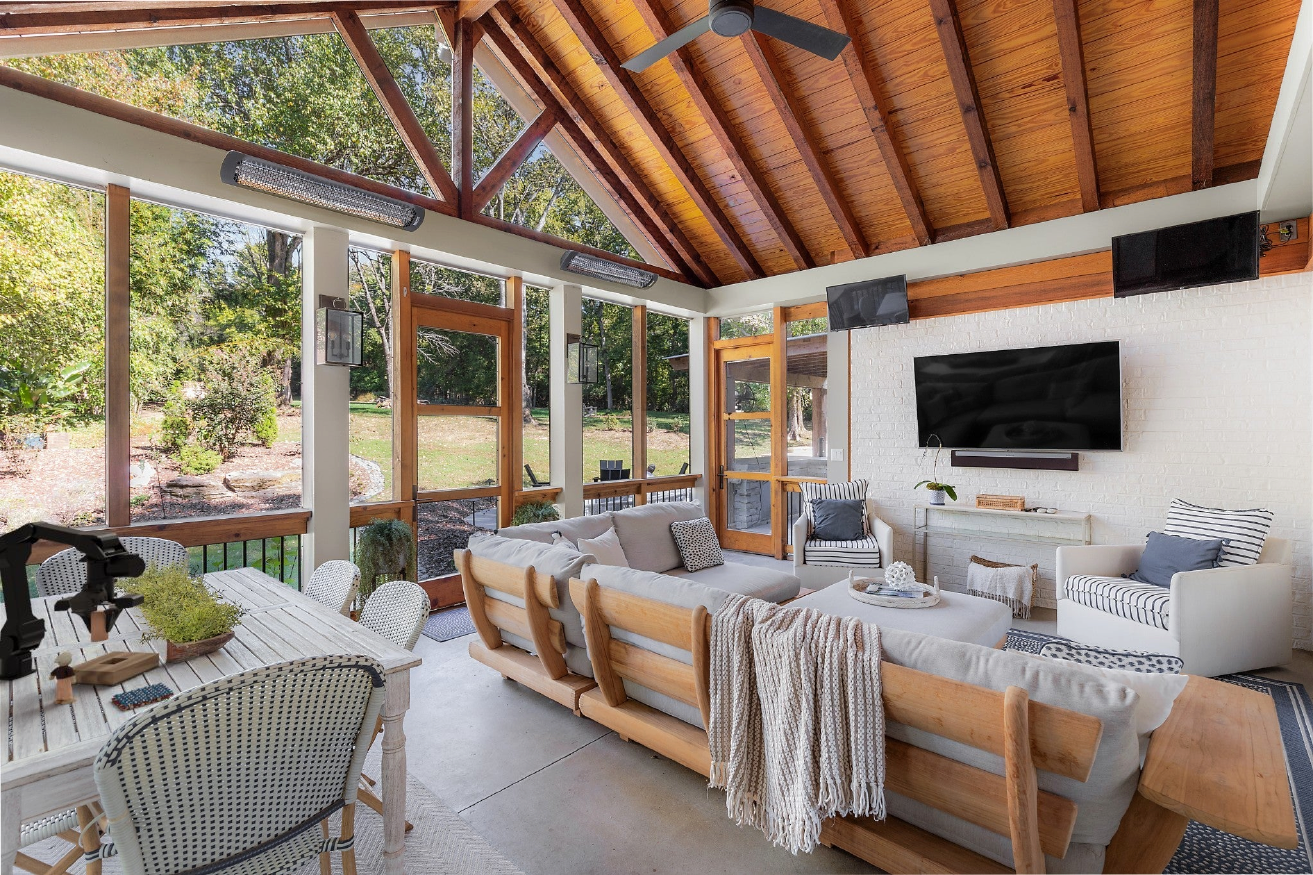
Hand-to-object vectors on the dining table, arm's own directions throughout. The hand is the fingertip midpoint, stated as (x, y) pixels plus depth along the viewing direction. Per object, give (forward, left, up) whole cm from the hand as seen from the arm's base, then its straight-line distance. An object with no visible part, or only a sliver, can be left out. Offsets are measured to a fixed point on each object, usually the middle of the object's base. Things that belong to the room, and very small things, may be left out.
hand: (100, 632), depth 166 cm
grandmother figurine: (+6, -15, -13) cm, 20 cm away
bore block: (+3, +2, -13) cm, 13 cm away
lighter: (+12, +15, -13) cm, 23 cm away
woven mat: (+24, -11, -13) cm, 29 cm away
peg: (0, 0, -2) cm, 2 cm away
